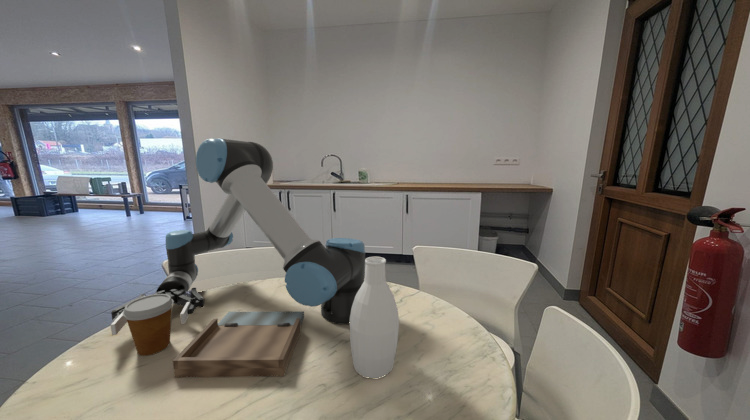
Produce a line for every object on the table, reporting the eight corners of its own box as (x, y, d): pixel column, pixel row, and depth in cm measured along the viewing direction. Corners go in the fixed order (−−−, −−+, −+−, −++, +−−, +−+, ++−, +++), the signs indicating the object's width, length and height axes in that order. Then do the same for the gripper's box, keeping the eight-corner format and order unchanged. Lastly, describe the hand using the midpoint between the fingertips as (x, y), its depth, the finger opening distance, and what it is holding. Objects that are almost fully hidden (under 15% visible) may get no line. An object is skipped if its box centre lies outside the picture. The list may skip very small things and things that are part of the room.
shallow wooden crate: (306, 317, 82) (305, 305, 82) (283, 376, 60) (283, 359, 59) (227, 317, 82) (226, 305, 81) (174, 377, 59) (172, 360, 58)
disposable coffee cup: (151, 363, 63) (144, 314, 61) (117, 357, 65) (110, 309, 63) (187, 338, 72) (182, 295, 70) (156, 333, 74) (151, 291, 72)
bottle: (407, 370, 62) (412, 262, 58) (365, 392, 56) (367, 273, 52) (379, 343, 71) (381, 248, 67) (340, 360, 65) (340, 256, 61)
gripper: (220, 292, 92) (209, 327, 72) (126, 305, 82) (83, 350, 63) (219, 271, 90) (207, 301, 71) (122, 282, 81) (78, 319, 62)
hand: (149, 324), depth 67 cm, fingers open, 13 cm apart
